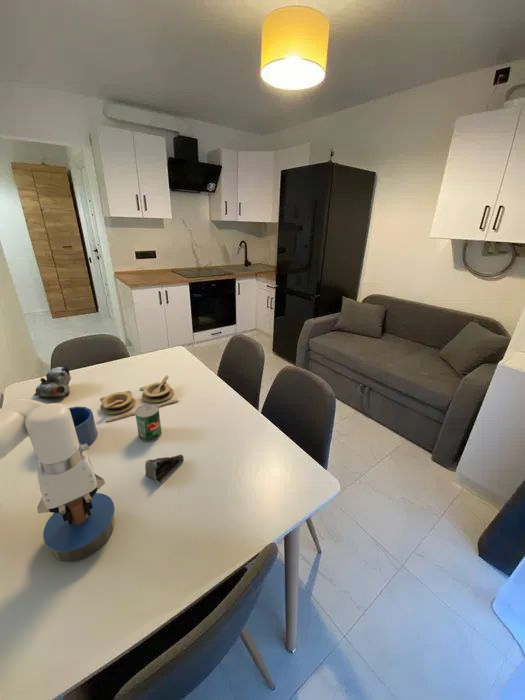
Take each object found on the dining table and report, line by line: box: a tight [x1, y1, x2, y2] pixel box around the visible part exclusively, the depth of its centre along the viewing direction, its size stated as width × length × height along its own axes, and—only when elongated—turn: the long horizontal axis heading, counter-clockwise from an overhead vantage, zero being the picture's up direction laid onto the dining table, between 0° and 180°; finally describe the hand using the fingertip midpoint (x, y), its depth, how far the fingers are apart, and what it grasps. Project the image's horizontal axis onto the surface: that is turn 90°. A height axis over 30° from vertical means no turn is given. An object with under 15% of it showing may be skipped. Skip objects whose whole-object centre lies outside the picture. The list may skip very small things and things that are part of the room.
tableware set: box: [99, 375, 179, 423], centre depth 125 cm, size 30×20×6 cm, turn 124°
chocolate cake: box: [144, 454, 185, 486], centre depth 91 cm, size 10×7×12 cm
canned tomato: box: [134, 403, 163, 443], centre depth 104 cm, size 8×8×11 cm
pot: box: [68, 406, 98, 447], centre depth 100 cm, size 14×14×10 cm
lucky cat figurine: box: [33, 366, 72, 398], centre depth 126 cm, size 15×12×14 cm
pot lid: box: [42, 492, 115, 552], centre depth 69 cm, size 15×15×7 cm
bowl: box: [51, 515, 115, 563], centre depth 72 cm, size 13×13×4 cm
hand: (79, 515), depth 70 cm, fingers closed on pot lid, 3 cm apart
